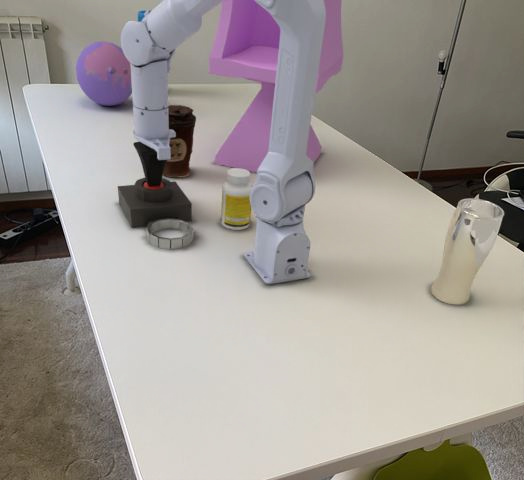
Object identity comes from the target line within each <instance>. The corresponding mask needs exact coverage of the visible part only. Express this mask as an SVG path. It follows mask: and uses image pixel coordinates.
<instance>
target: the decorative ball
mask: <svg viewBox="0 0 524 480" xmlns="http://www.w3.org/2000/svg"><path fill="white" fill-rule="evenodd" d="M75 74H76V80H77V82H78V85H79V87H80V89H81V90H82V92H83V93H84V94H85V96H87V98H89V99H90V100H91V101H93V102H94V103H96V104H99V105H101V106H107V107H112V106H118V105H120V104H122V103H124V102H126V101H127V100H128V99H129V98H130V97H131V96H132V82H131V65H130V62H129V61H128V60H127V58H126V57H125V55H124V53H123V50H122V47H120V46H119V45H118V44H115V43H113V42H110V41H104V40H101V41H95V42H92V43H90V44H89V45H87V46H86V47H85V48H84V49H83V50H82V51H81V52H80V53H79V56H78V57H77V59H76V66H75Z"/></svg>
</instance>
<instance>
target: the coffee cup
mask: <svg viewBox="0 0 524 480" xmlns="http://www.w3.org/2000/svg"><path fill="white" fill-rule="evenodd" d="M193 112H194V109H193V108H191V107H189V106H186V105H181V104H178V105H177V104H176V105H175V104H170V105H169V104H168V117H169V130H170V129H171V130H174V131H175V133H176V137H171V138H170V143H169V146H170V148H171V159H168V160H167V162H166V164H165V167H164V171H163V176H166V177H170V178H185V177H189V175H191V169H190V161H191V155H192V154H193V147H194V132H195V127H196V121H197V117H196V115H195V114H193Z"/></svg>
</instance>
